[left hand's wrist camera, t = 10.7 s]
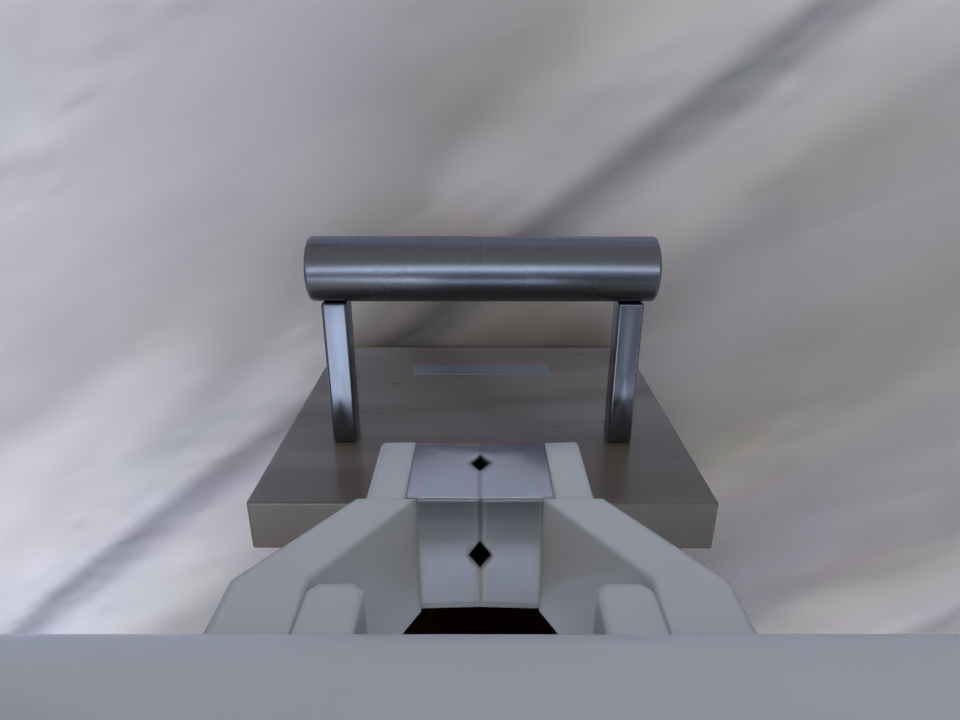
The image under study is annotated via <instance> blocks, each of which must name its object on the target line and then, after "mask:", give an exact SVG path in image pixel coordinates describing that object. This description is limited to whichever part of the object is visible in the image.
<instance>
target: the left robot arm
mask: <svg viewBox="0 0 960 720" xmlns="http://www.w3.org/2000/svg"><path fill="white" fill-rule="evenodd" d="M451 607H508V608H539V612H540V613H541V614H542V615H543V616H544V618H545V619H546V620H547V621H548V623H549V624H550V625H551V626H552V627H553V629H554V630H555V631H556V632H557V633H558V634H403V633H404V632H405V630H406V629H407V628H408V627H409V626H410V624H411V623H412V622H413V621H414V619H415V618H416V617H417V616H418V615H419V613H420V612H421V608H451ZM0 720H960V634H757V633H756V632H755V630H754V628H753V626H752V624H751V622H750V620H749V618H748V616H747V614H746V612H745V610H744V608H743V607H742V605H741V603H740V601H739V599H738V597H737V595H736V593H735V591H734V589H733V587H732V585H731V583H730V582H729V581H728V580H726V579H725V578H723V577H722V576H720V575H718V574H717V573H715V572H714V571H712V570H711V569H709V568H708V567H706V566H705V565H703V564H702V563H700V562H699V561H697V560H696V559H694V558H693V557H691V556H689V555H688V554H686V553H685V552H683V551H682V550H680V549H679V548H677V547H676V546H674V545H673V544H671V543H670V542H668V541H667V540H665V539H664V538H662V537H660V536H659V535H657V534H656V533H654V532H653V531H651V530H650V529H648V528H647V527H645V526H644V525H642V524H641V523H639V522H638V521H636V520H634V519H633V518H631V517H630V516H628V515H627V514H625V513H624V512H622V511H621V510H619V509H618V508H616V507H615V506H613V505H612V504H610V503H609V502H607V501H605V500H604V499H594V498H593V495H592V491H591V488H590V485H589V481H588V478H587V474H586V471H585V467H584V464H583V461H582V457H581V454H580V450H579V447H578V444H577V443H575V442H561V443H508V444H457V443H417V444H416V443H415V442H397V443H384V444H383V445H382V446H381V450H380V453H379V457H378V460H377V464H376V467H375V470H374V474H373V477H372V481H371V484H370V488H369V491H368V495H367V498H366V499H356V500H355V501H353V502H351V503H350V504H348V505H347V506H345V507H344V508H342V509H341V510H339V511H338V512H336V513H335V514H333V515H332V516H330V517H328V518H327V519H325V520H324V521H322V522H321V523H319V524H318V525H316V526H315V527H313V528H312V529H310V530H309V531H307V532H305V533H304V534H302V535H301V536H299V537H298V538H296V539H295V540H293V541H292V542H290V543H289V544H287V545H286V546H284V547H282V548H281V549H279V550H278V551H276V552H275V553H273V554H272V555H270V556H269V557H267V558H266V559H264V560H262V561H261V562H259V563H258V564H256V565H255V566H253V567H252V568H250V569H249V570H247V571H246V572H244V573H243V574H241V575H239V576H238V577H236V578H235V579H233V580H232V581H231V582H230V584H229V586H228V588H227V590H226V592H225V594H224V596H223V597H222V599H221V601H220V603H219V605H218V607H217V609H216V611H215V613H214V615H213V616H212V618H211V620H210V622H209V624H208V626H207V628H206V630H205V632H204V634H0Z"/></svg>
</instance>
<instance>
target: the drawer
mask: <svg viewBox="0 0 960 720" xmlns="http://www.w3.org/2000/svg"><path fill="white" fill-rule="evenodd" d="M661 273H662V257H661V249H660V245H659V242H658V240H657V239H656V238H655V237H473V236H312V237H310V238H309V239H308V240H307V243H306V246H305V252H304V278H305V285H306V289H307V292H308V295H309V297H310V298H311V300H313V301H324V302H323V303H322V305H321V308H322V318H323V329H324V340H325V350H326V361H327V366H326V368H325V370H324V371H323V373H322V375H321V377H320V378H319V380H318V382H317V383H316V385H315V387H314V388H313V390H312V392H311V394H310V395H309V397H308V399H307V400H306V402H305V404H304V406H303V407H302V409H301V411H300V412H299V414H298V416H297V418H296V419H295V421H294V423H293V424H292V426H291V428H290V429H289V431H288V433H287V435H286V436H285V438H284V440H283V441H282V443H281V445H280V447H279V448H278V450H277V452H276V453H275V455H274V457H273V459H272V460H271V462H270V464H269V465H268V467H267V469H266V471H265V472H264V474H263V476H262V477H261V479H260V481H259V482H258V484H257V486H256V488H255V489H254V491H253V493H252V494H251V496H250V498H249V500H248V501H247V508H248V515H249V521H250V527H251V534H252V540H253V546H254V547H284V546H286V545H287V544H289V543H290V542H292V541H293V540H295V539H296V538H298V537H299V536H301V535H302V534H304V533H305V532H307V531H309V530H310V529H312V528H313V527H315V526H316V525H318V524H319V523H321V522H322V521H324V520H325V519H327V518H328V517H330V516H332V515H333V514H335V513H336V512H338V511H339V510H341V509H342V508H344V507H345V506H347V505H348V504H350V503H351V502H353V501H355V500H356V499H366V498H367V495H368V491H369V488H370V484H371V481H372V477H373V474H374V470H375V467H376V464H377V460H378V457H379V453H380V450H381V446H382V445H383V444H384V443H397V442H415V443H416V444H417V443H457V444H508V443H561V442H575V443H577V444H578V447H579V450H580V454H581V457H582V461H583V464H584V467H585V471H586V474H587V478H588V481H589V485H590V488H591V491H592V495H593V498H594V499H604V500H605V501H607V502H609V503H610V504H612V505H613V506H615V507H616V508H618V509H619V510H621V511H622V512H624V513H625V514H627V515H628V516H630V517H631V518H633V519H634V520H636V521H638V522H639V523H641V524H642V525H644V526H645V527H647V528H648V529H650V530H651V531H653V532H654V533H656V534H657V535H659V536H660V537H662V538H664V539H665V540H667V541H668V542H670V543H671V544H673V545H674V546H676V547H677V548H711V545H712V539H713V533H714V527H715V520H716V514H717V508H718V502H717V500H716V499H715V497H714V495H713V494H712V492H711V490H710V489H709V487H708V485H707V484H706V482H705V480H704V479H703V477H702V475H701V474H700V472H699V470H698V468H697V467H696V465H695V463H694V462H693V460H692V458H691V457H690V455H689V453H688V452H687V450H686V448H685V447H684V445H683V443H682V442H681V440H680V438H679V436H678V435H677V433H676V431H675V430H674V428H673V426H672V425H671V423H670V421H669V420H668V418H667V416H666V415H665V413H664V411H663V410H662V408H661V406H660V404H659V403H658V401H657V399H656V398H655V396H654V394H653V393H652V391H651V389H650V388H649V386H648V384H647V383H646V381H645V379H644V378H643V376H642V374H641V372H640V371H639V369H638V360H639V350H640V340H641V330H642V320H643V310H644V304H643V303H642V302H641V301H653V300H654V299H655V298H656V296H657V293H658V290H659V287H660V282H661ZM351 301H614V308H613V321H612V333H611V345H610V347H354V337H353V323H352V310H351ZM403 634H558V633H557V632H556V631H555V630H554V629H553V627H552V626H551V625H550V624H549V623H548V621H547V620H546V619H545V618H544V616H543V615H542V614H541V613H540V612H539V608H508V607H451V608H421V612H420V613H419V615H418V616H417V617H416V618H415V619H414V621H413V622H412V623H411V624H410V626H409V627H408V628H407V629H406V630H405V632H404V633H403Z"/></svg>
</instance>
